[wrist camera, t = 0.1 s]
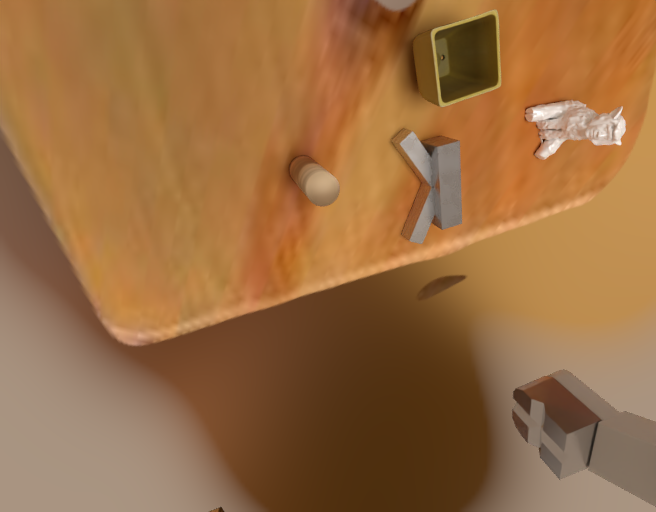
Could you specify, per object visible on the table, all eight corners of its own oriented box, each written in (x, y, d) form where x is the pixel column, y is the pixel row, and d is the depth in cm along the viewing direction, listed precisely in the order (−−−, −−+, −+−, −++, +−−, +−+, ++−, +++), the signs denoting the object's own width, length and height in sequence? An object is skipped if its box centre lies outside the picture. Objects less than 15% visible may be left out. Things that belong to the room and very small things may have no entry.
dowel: (286, 159, 54) (303, 178, 45) (313, 152, 55) (336, 169, 45) (292, 186, 56) (311, 210, 47) (318, 179, 57) (342, 201, 47)
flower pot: (406, 103, 56) (440, 108, 48) (396, 35, 52) (431, 29, 44) (460, 85, 57) (501, 87, 49) (454, 17, 53) (498, 8, 45)
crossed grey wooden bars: (389, 131, 57) (405, 136, 52) (440, 118, 58) (459, 122, 54) (401, 240, 65) (415, 252, 61) (445, 226, 67) (462, 237, 62)
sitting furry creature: (521, 110, 61) (586, 117, 51) (566, 79, 61) (640, 81, 51) (534, 160, 66) (596, 176, 56) (576, 132, 66) (645, 143, 56)
